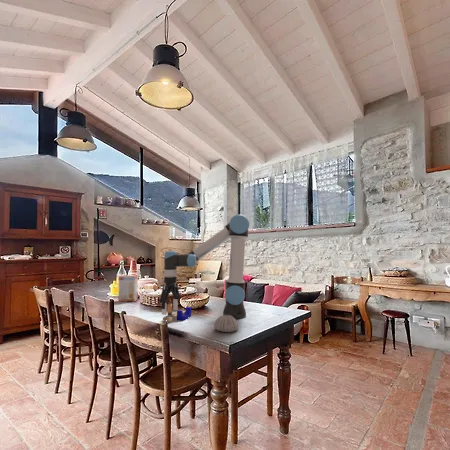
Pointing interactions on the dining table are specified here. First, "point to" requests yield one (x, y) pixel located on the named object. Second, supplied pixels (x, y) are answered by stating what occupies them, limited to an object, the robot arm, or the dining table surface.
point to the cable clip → (186, 315)
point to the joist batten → (173, 318)
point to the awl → (169, 310)
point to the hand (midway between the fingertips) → (170, 312)
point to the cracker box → (127, 288)
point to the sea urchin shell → (226, 323)
